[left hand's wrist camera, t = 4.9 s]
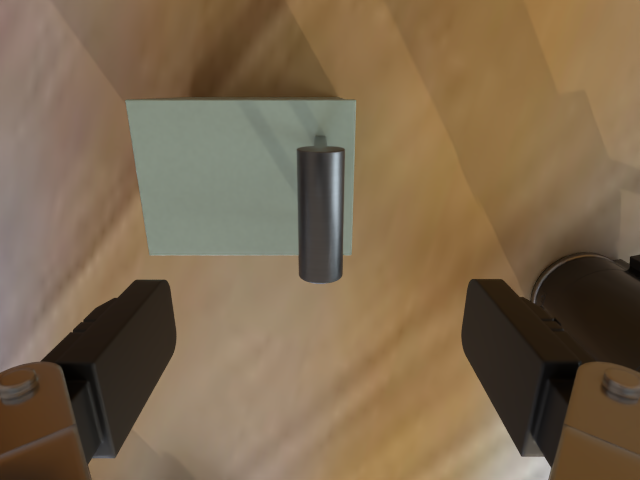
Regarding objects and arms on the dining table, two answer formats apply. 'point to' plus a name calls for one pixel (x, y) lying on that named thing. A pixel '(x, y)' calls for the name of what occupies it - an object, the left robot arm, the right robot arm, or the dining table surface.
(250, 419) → the dining table surface
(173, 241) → the lid
